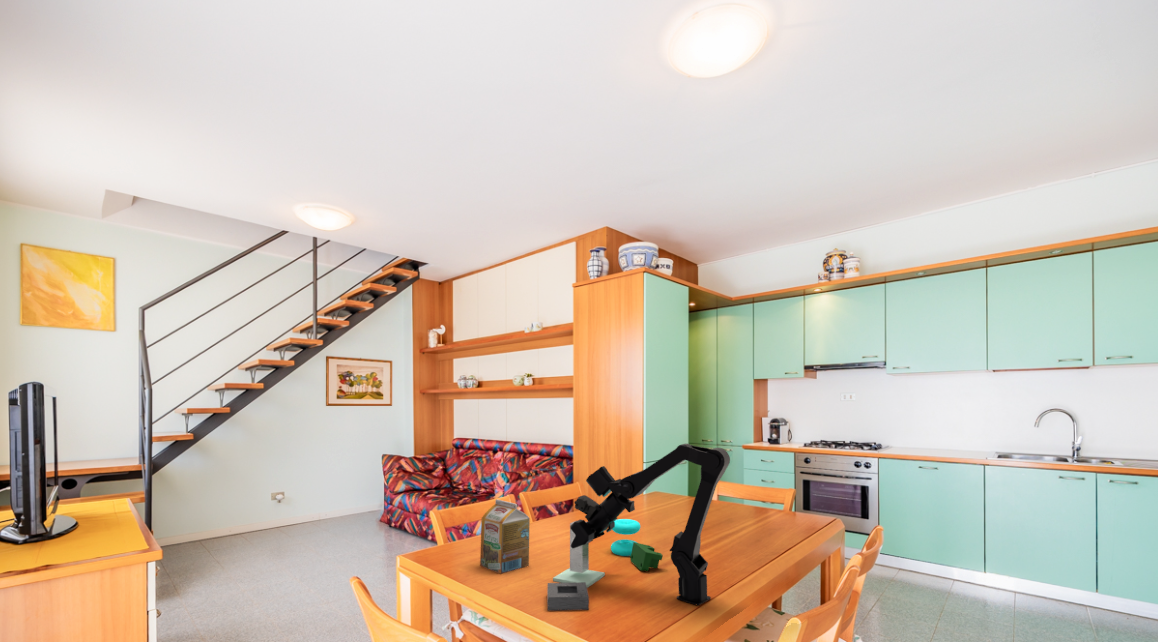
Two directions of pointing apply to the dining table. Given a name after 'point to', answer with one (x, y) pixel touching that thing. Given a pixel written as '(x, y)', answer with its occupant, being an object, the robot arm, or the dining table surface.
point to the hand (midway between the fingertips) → (575, 545)
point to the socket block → (567, 596)
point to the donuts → (624, 528)
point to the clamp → (644, 556)
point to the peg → (578, 555)
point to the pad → (579, 577)
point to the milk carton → (504, 538)
